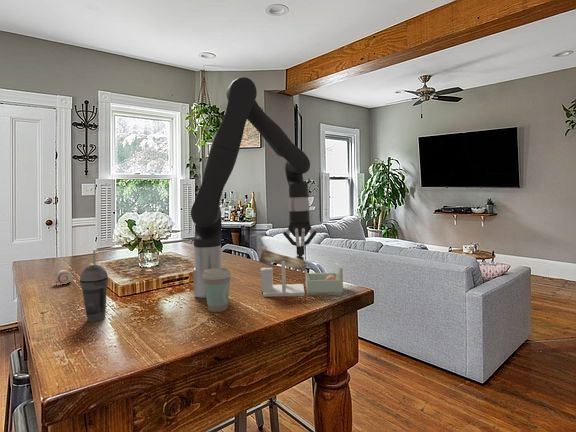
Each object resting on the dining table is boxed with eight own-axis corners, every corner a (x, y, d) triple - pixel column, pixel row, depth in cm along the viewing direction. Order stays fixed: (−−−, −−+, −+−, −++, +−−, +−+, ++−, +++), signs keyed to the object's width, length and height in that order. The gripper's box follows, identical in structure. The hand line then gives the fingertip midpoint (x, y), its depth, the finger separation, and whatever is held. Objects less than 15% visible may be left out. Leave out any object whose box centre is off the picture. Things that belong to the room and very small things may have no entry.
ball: (333, 290, 127) (323, 283, 127) (331, 287, 131) (322, 281, 131) (339, 280, 127) (330, 274, 126) (338, 278, 131) (329, 271, 130)
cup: (307, 295, 123) (307, 269, 122) (305, 286, 135) (305, 262, 134) (343, 294, 123) (342, 268, 122) (338, 285, 135) (337, 261, 134)
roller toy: (53, 284, 147) (52, 270, 147) (71, 282, 152) (70, 268, 151) (55, 286, 144) (55, 272, 144) (74, 283, 148) (73, 269, 148)
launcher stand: (260, 296, 123) (259, 263, 122) (262, 287, 135) (261, 256, 134) (304, 295, 123) (303, 262, 122) (303, 286, 135) (302, 255, 134)
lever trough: (258, 262, 125) (262, 248, 124) (261, 256, 138) (265, 243, 138) (303, 276, 125) (307, 262, 125) (301, 268, 138) (305, 255, 138)
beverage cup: (103, 313, 109) (100, 247, 108) (115, 318, 105) (111, 249, 103) (77, 320, 104) (73, 250, 102) (88, 325, 99) (84, 252, 98)
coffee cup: (226, 314, 106) (224, 273, 105) (198, 312, 107) (197, 272, 107) (236, 305, 114) (234, 267, 113) (210, 304, 116) (209, 266, 115)
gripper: (280, 210, 130) (282, 258, 131) (317, 209, 130) (319, 257, 131) (281, 209, 138) (283, 255, 139) (316, 208, 138) (317, 253, 139)
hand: (300, 256), depth 135 cm, fingers closed
